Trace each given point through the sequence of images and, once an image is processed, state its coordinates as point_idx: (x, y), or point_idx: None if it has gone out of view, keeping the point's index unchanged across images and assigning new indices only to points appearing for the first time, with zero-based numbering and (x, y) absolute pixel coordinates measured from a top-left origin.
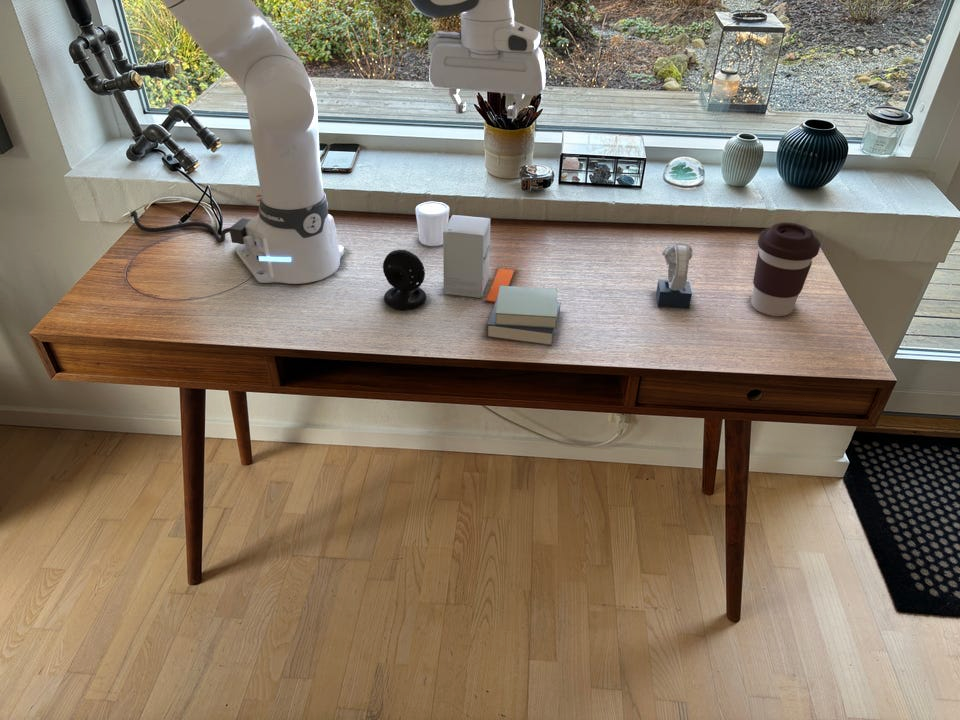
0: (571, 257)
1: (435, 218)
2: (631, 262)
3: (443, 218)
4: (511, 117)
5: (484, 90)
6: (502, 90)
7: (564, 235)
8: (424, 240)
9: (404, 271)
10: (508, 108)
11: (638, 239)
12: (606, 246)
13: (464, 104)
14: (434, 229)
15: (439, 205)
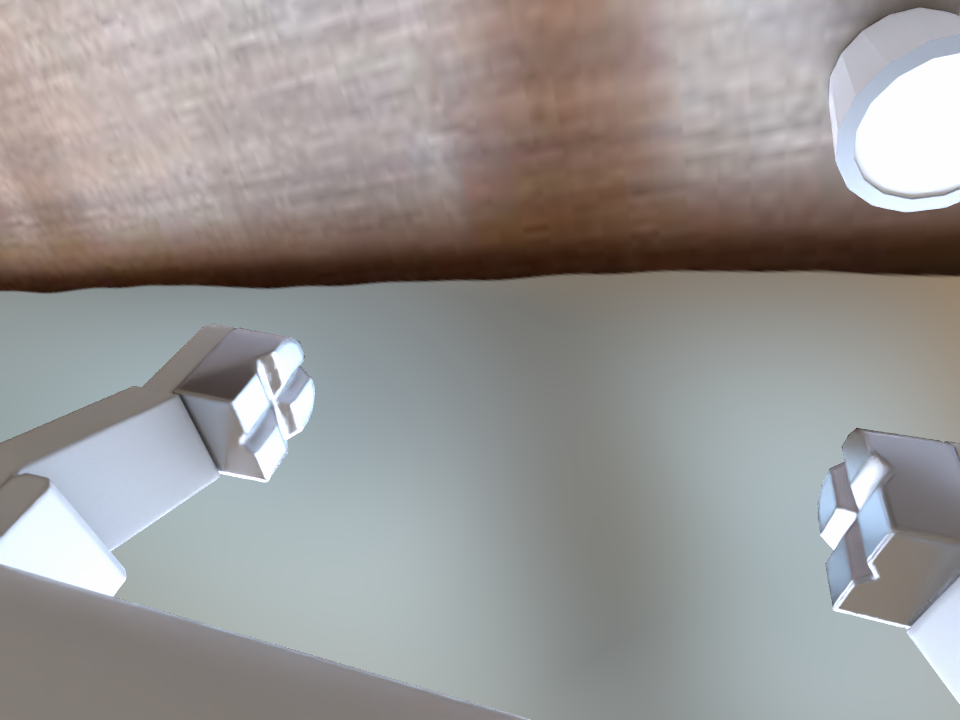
0: (343, 51)
1: (926, 37)
2: (178, 62)
3: (871, 70)
4: (245, 332)
5: (425, 711)
6: (45, 631)
7: (407, 202)
8: (957, 15)
9: None
10: (229, 414)
11: (223, 210)
12: (277, 153)
13: (859, 564)
14: (916, 25)
15: (890, 173)
